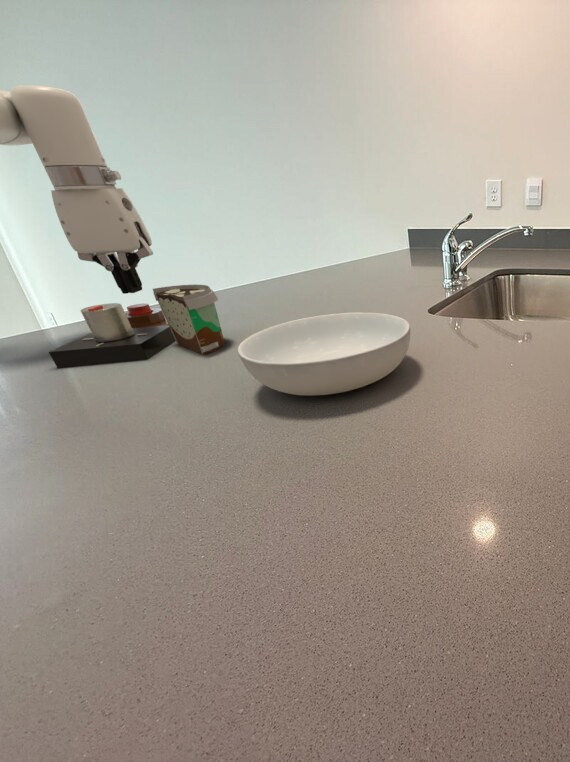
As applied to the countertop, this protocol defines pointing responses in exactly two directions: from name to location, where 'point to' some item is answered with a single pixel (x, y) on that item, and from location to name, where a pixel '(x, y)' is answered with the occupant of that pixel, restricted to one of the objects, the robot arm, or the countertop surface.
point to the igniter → (148, 319)
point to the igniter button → (139, 309)
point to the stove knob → (107, 322)
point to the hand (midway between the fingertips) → (133, 291)
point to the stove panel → (113, 348)
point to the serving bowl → (326, 352)
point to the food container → (191, 316)
